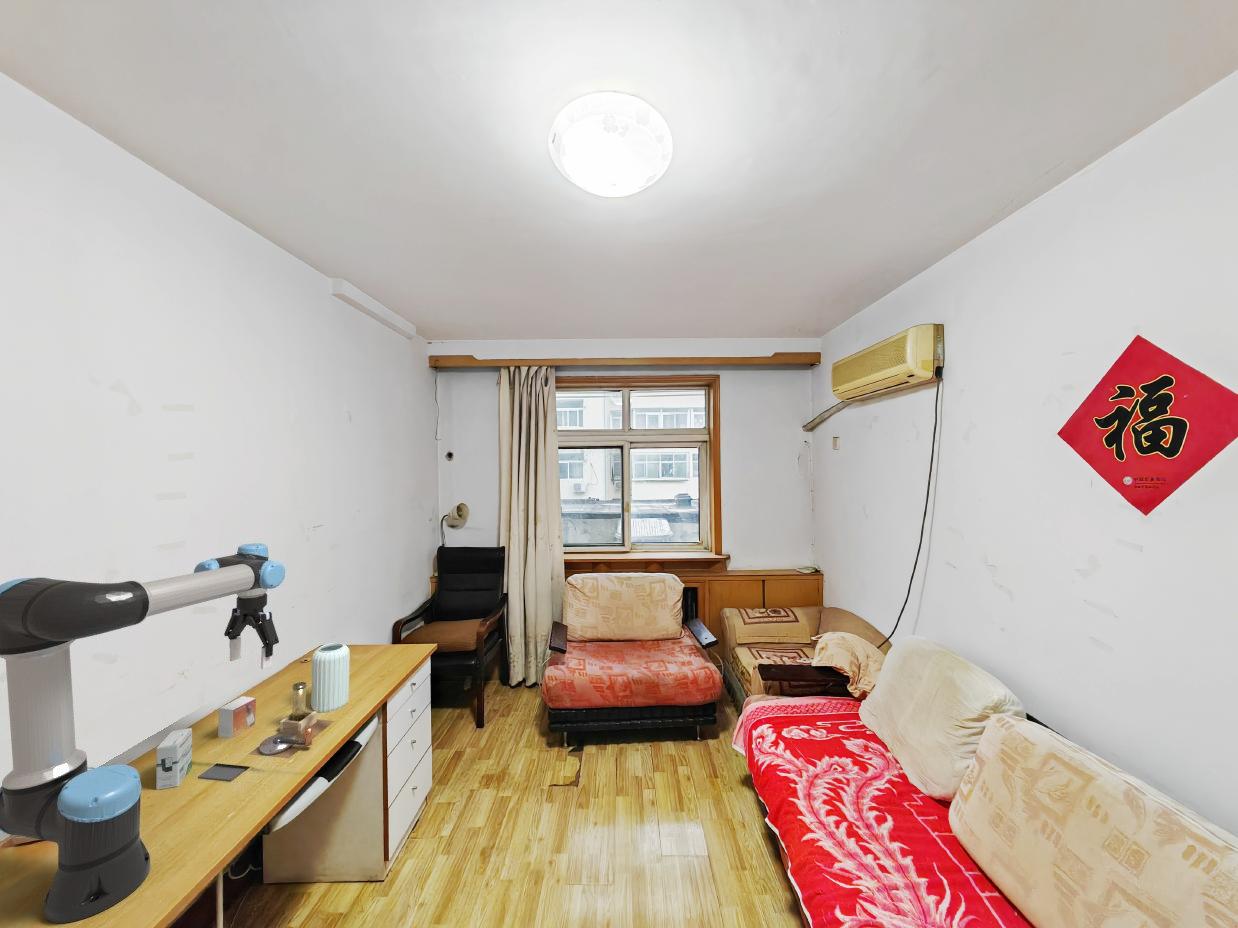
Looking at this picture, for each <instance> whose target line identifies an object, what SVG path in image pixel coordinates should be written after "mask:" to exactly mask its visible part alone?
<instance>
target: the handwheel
mask: <svg viewBox="0 0 1238 928" xmlns="http://www.w3.org/2000/svg"><path fill="white" fill-rule="evenodd" d="M276 734H277V733H276ZM312 735H313V727H312V726H309V727H306V728H305V740H295V735H294V734H292V733H281V734H277V735H275V734H273V735H271V736H269V737H267V738H265V739H263V741H261V742H260V744H259V745H258V747H259V751H260V753H262V754H276V753H280V752H282V751H285V750H287V749H289V748H290V747H292V746H293V745H294V744H296V745H305V746H304V747H309V746H312V745H313V739H312Z"/></svg>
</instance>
